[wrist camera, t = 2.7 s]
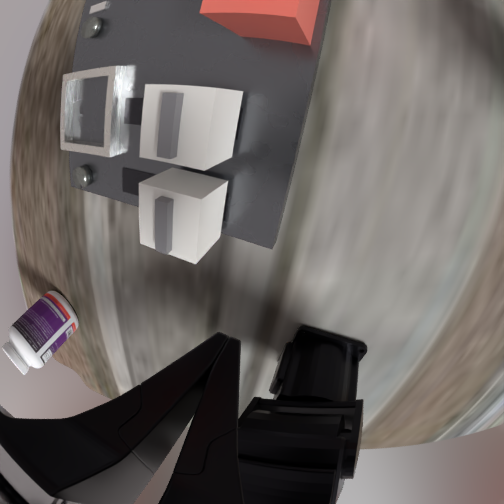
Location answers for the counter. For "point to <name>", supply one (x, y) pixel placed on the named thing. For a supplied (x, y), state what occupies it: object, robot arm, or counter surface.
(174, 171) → the breaker
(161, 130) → the block
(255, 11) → the red block with knob
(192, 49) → the panel
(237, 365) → the robot arm
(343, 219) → the counter surface
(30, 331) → the pill bottle
